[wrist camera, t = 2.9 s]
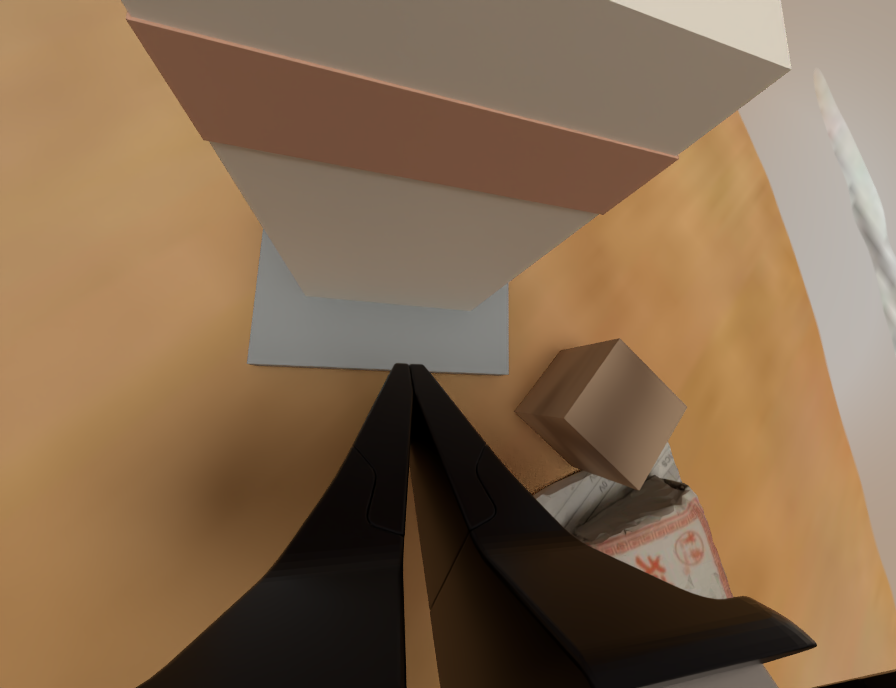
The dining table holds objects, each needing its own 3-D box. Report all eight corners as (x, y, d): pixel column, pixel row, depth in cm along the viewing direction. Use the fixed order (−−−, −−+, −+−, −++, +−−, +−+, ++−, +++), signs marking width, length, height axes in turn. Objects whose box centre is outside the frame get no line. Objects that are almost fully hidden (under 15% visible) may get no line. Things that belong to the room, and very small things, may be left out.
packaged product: (851, 801, 16) (710, 962, 13) (741, 707, 21) (620, 812, 18) (723, 447, 17) (568, 529, 14) (646, 434, 22) (518, 494, 19)
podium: (499, 375, 19) (516, 373, 17) (255, 365, 16) (238, 361, 14) (500, 83, 22) (514, 50, 20) (294, 25, 19) (286, -20, 17)
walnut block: (613, 403, 21) (687, 406, 16) (571, 466, 20) (639, 490, 15) (559, 350, 20) (619, 338, 16) (513, 411, 19) (563, 418, 14)
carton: (471, 312, 18) (794, 73, 4) (304, 297, 16) (-41, -241, 2) (472, 194, 19) (737, -285, 5) (317, 166, 17) (128, -721, 3)
